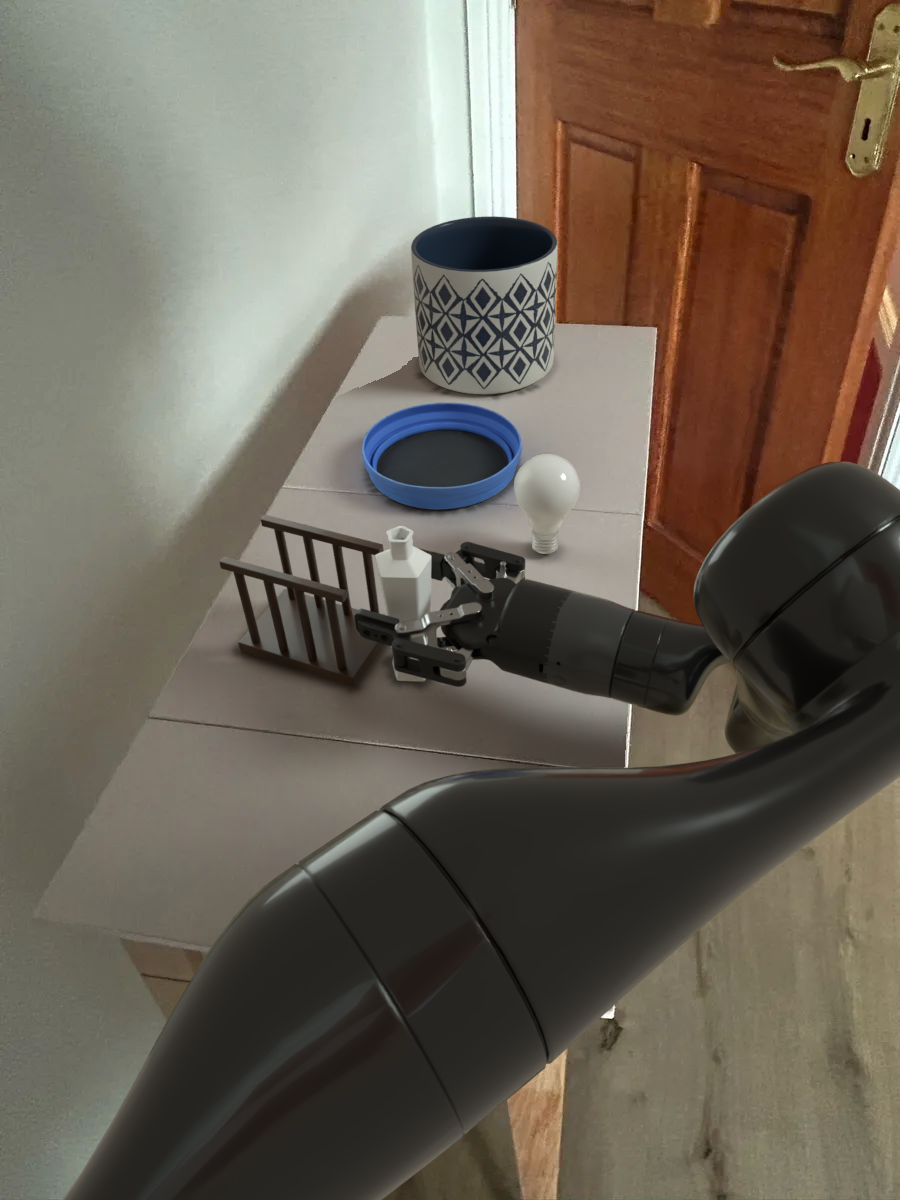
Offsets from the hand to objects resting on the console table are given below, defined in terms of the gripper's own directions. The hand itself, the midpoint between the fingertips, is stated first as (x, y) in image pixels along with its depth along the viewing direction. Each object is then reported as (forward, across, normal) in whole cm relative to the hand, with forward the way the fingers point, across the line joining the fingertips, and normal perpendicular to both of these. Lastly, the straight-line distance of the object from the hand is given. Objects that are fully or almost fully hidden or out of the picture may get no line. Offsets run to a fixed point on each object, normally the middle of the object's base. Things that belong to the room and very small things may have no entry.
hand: (381, 588), depth 76 cm
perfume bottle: (-2, 0, +9) cm, 9 cm away
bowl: (+9, -30, +9) cm, 32 cm away
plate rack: (+8, 0, +9) cm, 12 cm away
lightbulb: (-7, -20, +9) cm, 23 cm away
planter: (+14, -55, +9) cm, 57 cm away
